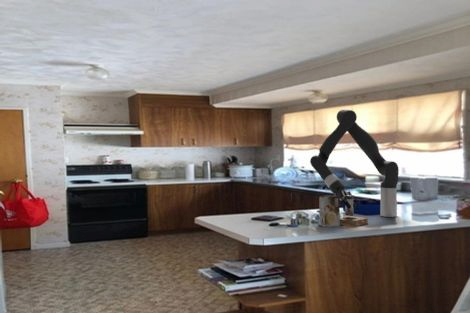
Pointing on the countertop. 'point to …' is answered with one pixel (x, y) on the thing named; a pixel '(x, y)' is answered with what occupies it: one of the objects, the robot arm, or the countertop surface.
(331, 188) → the robot arm
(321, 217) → the coffee box
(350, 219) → the socket
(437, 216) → the countertop surface
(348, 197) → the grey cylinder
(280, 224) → the countertop surface
